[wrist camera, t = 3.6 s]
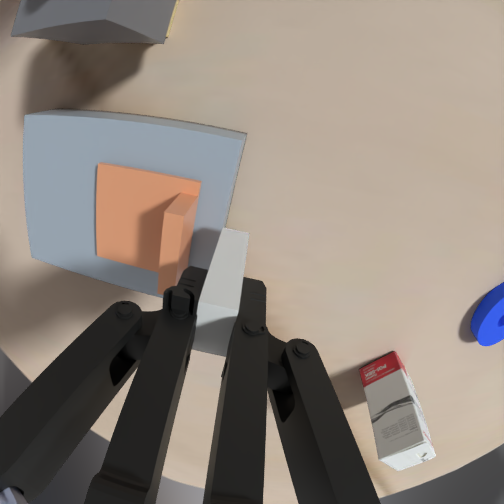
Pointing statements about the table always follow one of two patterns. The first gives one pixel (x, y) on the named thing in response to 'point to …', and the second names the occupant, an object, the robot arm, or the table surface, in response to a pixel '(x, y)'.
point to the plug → (95, 20)
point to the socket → (126, 154)
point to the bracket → (490, 318)
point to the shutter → (146, 219)
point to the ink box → (396, 414)
